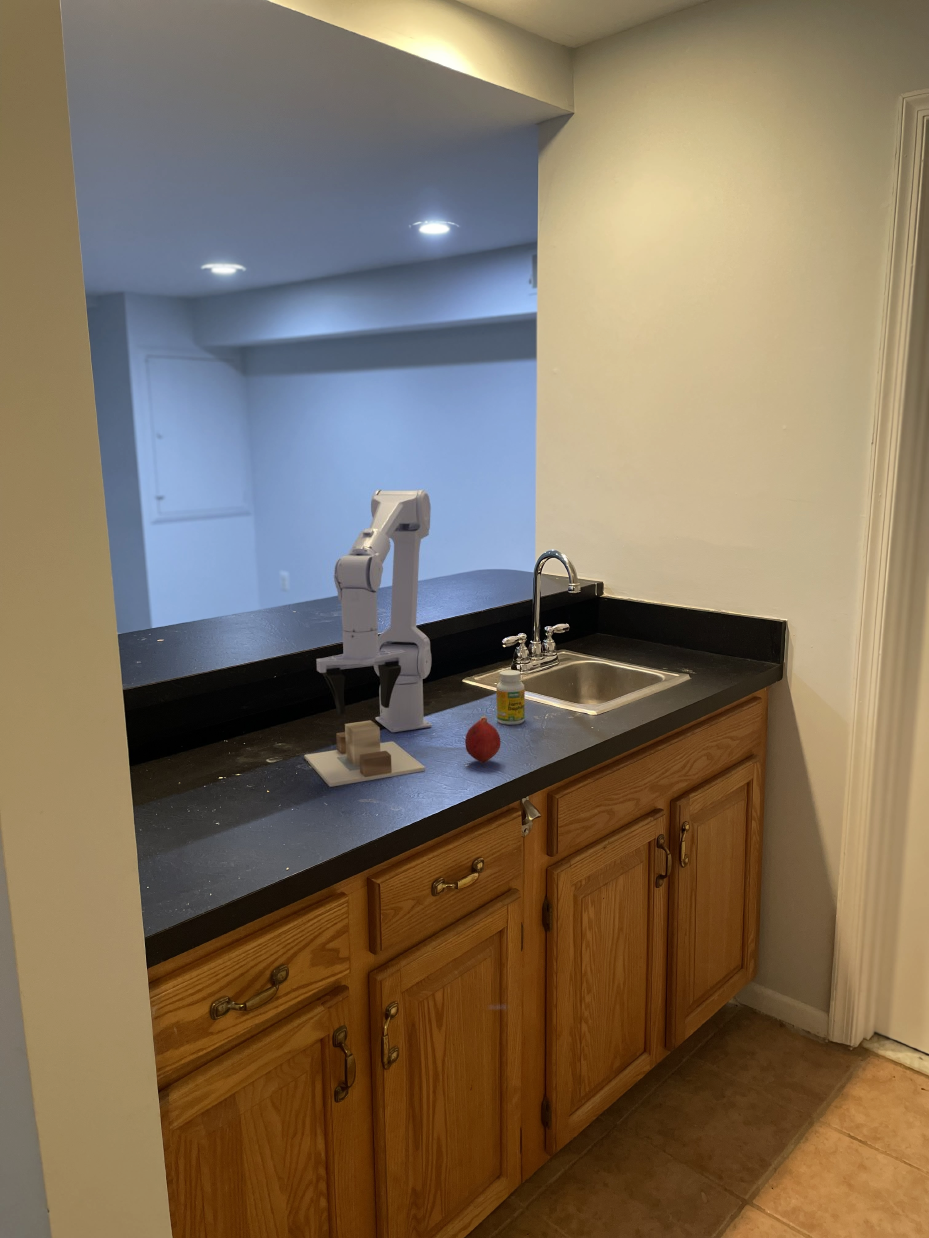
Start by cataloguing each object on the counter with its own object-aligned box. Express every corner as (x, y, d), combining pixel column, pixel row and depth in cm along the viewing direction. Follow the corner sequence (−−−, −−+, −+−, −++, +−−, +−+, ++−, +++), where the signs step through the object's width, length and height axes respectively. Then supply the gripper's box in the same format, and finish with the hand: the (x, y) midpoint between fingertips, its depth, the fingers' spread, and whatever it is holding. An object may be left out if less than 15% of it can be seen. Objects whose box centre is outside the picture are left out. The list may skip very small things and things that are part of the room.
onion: (475, 771, 152) (475, 724, 150) (459, 761, 157) (458, 715, 155) (506, 765, 154) (506, 718, 153) (489, 755, 159) (489, 710, 158)
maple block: (346, 758, 157) (344, 724, 156) (371, 754, 159) (370, 720, 158) (354, 766, 153) (353, 731, 152) (380, 762, 155) (379, 727, 154)
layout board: (304, 758, 159) (304, 754, 159) (393, 744, 166) (392, 740, 166) (329, 786, 146) (329, 782, 146) (424, 770, 152) (424, 766, 152)
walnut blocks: (337, 749, 162) (336, 733, 161) (361, 746, 163) (361, 729, 163) (364, 777, 148) (364, 759, 148) (391, 772, 150) (391, 754, 150)
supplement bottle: (513, 715, 182) (513, 667, 181) (530, 722, 178) (530, 673, 176) (491, 720, 179) (490, 671, 178) (507, 727, 175) (507, 677, 173)
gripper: (323, 637, 146) (327, 721, 148) (410, 628, 151) (412, 709, 154) (311, 629, 152) (315, 710, 154) (395, 621, 158) (397, 699, 160)
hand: (363, 709), depth 155 cm, fingers open, 7 cm apart
